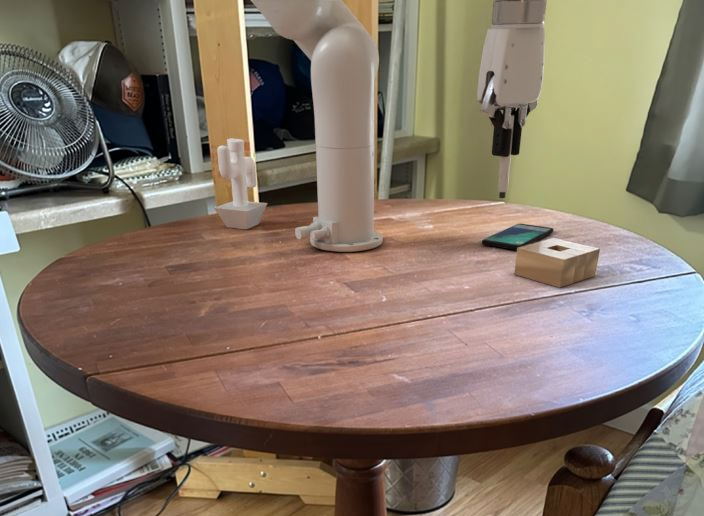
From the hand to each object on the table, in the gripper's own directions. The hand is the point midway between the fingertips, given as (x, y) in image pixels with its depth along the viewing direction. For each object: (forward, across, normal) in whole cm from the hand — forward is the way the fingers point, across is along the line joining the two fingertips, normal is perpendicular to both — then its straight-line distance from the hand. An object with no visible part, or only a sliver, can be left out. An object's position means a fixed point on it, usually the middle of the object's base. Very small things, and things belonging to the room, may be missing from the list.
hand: (505, 154), depth 111 cm
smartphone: (+14, -6, 0) cm, 15 cm away
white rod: (+7, 0, 0) cm, 7 cm away
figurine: (+14, +25, -41) cm, 50 cm away
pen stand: (+14, +6, +17) cm, 23 cm away
